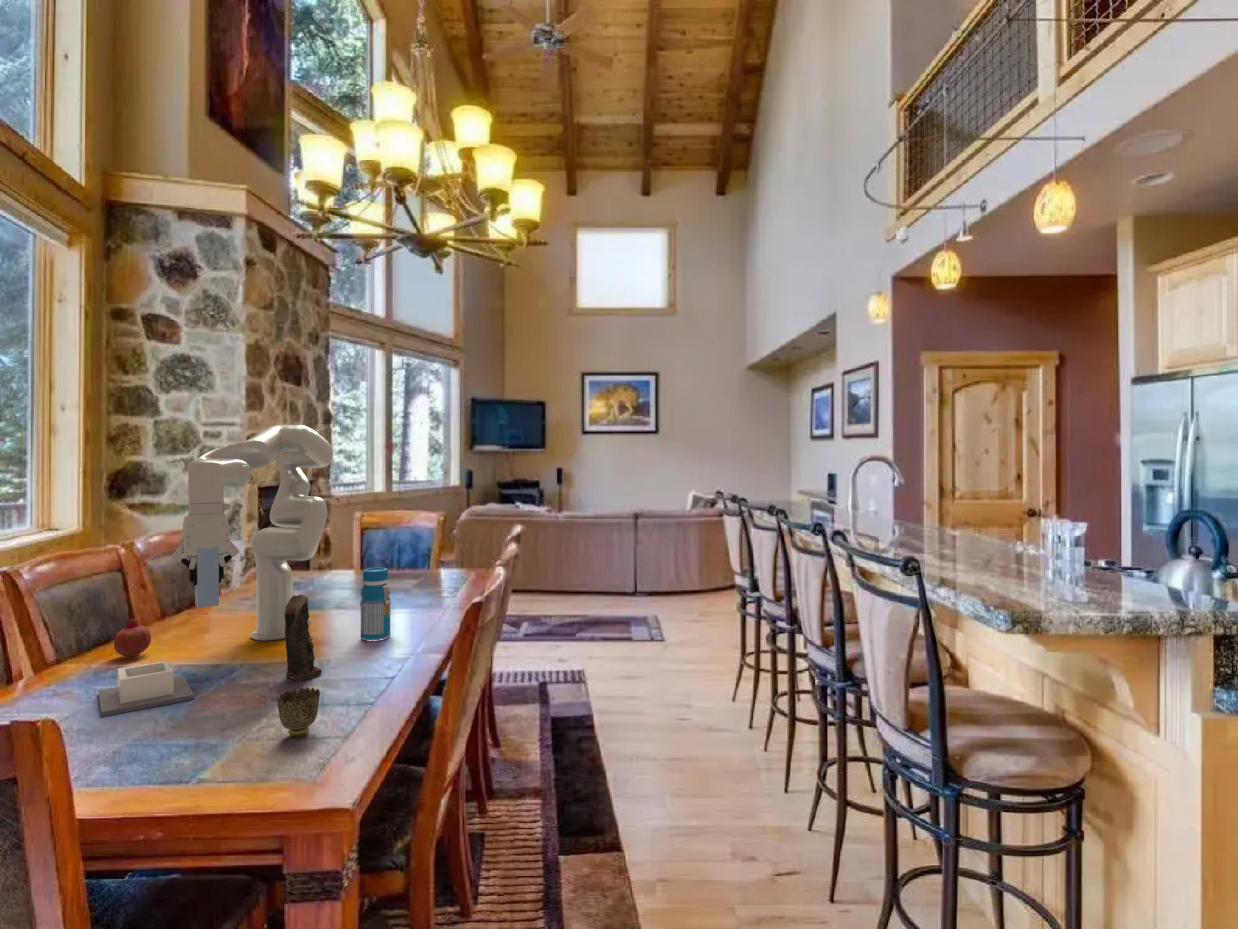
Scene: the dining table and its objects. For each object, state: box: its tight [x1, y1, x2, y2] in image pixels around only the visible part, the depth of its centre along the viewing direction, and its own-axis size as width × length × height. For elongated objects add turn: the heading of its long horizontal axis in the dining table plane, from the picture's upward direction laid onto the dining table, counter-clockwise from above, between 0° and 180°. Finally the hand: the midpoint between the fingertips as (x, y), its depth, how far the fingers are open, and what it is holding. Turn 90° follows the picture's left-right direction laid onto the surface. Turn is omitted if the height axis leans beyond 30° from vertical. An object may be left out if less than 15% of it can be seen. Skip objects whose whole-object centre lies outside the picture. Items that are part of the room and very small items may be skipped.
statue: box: [284, 594, 323, 682], centre depth 163 cm, size 7×7×20 cm
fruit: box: [113, 618, 152, 658], centre depth 178 cm, size 8×8×10 cm
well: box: [97, 660, 194, 718], centre depth 150 cm, size 16×16×6 cm
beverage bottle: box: [359, 567, 392, 642], centre depth 197 cm, size 8×8×20 cm
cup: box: [276, 687, 321, 739], centre depth 130 cm, size 8×7×8 cm
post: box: [194, 546, 220, 609], centre depth 169 cm, size 4×4×15 cm
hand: (206, 582), depth 169 cm, fingers closed on post, 4 cm apart
